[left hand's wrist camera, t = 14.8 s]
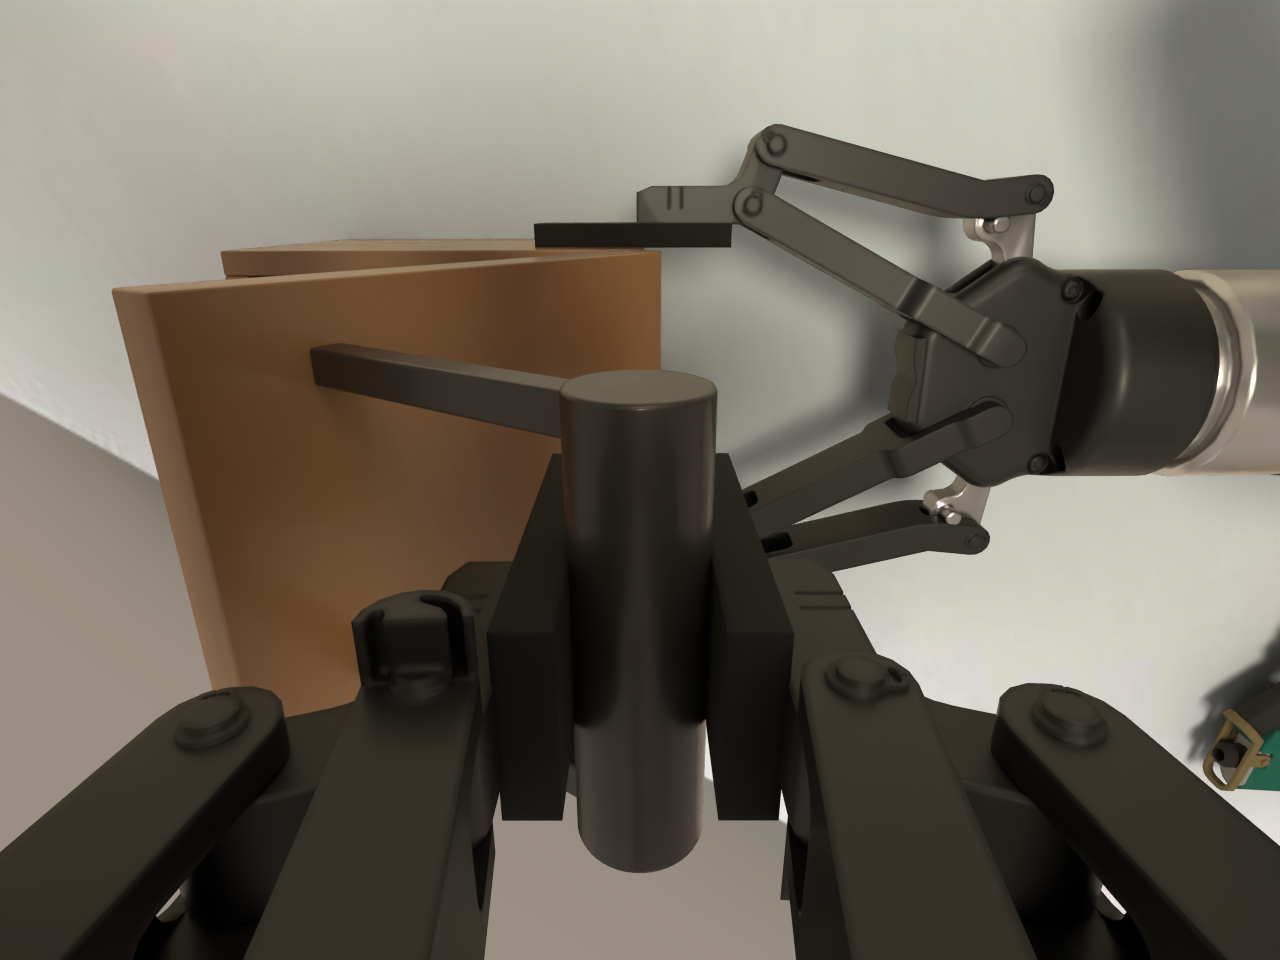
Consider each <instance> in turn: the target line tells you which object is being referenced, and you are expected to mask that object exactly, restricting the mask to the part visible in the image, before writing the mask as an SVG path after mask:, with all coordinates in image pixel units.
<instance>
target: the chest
mask: <svg viewBox="0 0 1280 960" xmlns="http://www.w3.org/2000/svg"><path fill="white" fill-rule="evenodd" d="M624 250H637V251H644V248H643V247H535V239H391V240H335V241H324V242H314V243H303V244H292V245H282V246H271V247H260V248H250V249H239V250H228V251H222V252H221V257H222V262H223V267H224V273H225V275H226V280H230V279H243V278H257V277H271V276H284V275H298V274H311V273H325V272H338V271H352V270H366V269H379V268H393V267H406V266H420V265H434V264H447V263H461V262H474V261H488V260H501V259H515V258H529V257H542V256H556V255H569V254H583V253H597V252H610V251H624Z"/></svg>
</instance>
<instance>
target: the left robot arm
mask: <svg viewBox="0 0 1280 960" xmlns="http://www.w3.org/2000/svg"><path fill="white" fill-rule="evenodd" d="M351 625H352V631H353V638H354V644H355V650H356V656H357V663H358V669H359V675H360V682H361V687H360V689H359V691H358V694H357V696H356V698H355V701H352V702H350V703H348V704H344V705H340V706H337V707H333V708H329V709H324V710H320V711H315V712H310V713H305V714H300V715H295V716H290V717H285V715H284V710H283V705H282V700H280V699H279V698H278V697H277V696H276V695H275V694H274V693H273V692H272V691H270V690H266V689H262V688H258V687H255V686H248V687H229V688H222V689H219V690H213V691H209V692H206V693H203V694H201V695H199V696H197V697H194V698H192V699H190V700H188V701H185V702H183V703H180V704H178V705H177V706H175V707H174V708H172V709H171V710H169V711H168V712H166V713H165V714H163V715H162V716H160V717H159V718H157V719H156V720H155V721H154V722H153V723H151V724H150V725H149V726H148V727H147V728H145V729H144V730H143V731H142V732H141V733H140V734H138V735H137V736H136V737H135V738H134V739H133V740H131V741H130V742H129V743H128V744H127V745H126V746H124V747H123V748H122V749H121V750H120V751H118V752H117V753H116V754H115V755H114V756H113V757H111V758H110V759H109V760H108V761H107V762H106V763H104V764H103V765H102V766H101V767H100V768H98V769H97V770H96V771H95V772H94V773H93V774H91V775H90V776H89V777H88V778H87V779H86V780H84V781H83V782H82V783H81V784H80V785H79V786H77V787H76V788H75V789H74V790H73V791H71V792H70V793H69V794H68V795H67V796H66V797H64V798H63V799H62V800H61V801H60V802H59V803H57V804H56V805H55V806H54V807H53V808H52V809H50V810H49V811H48V812H47V813H46V814H44V815H43V816H42V817H41V818H40V819H39V820H37V821H36V822H35V823H34V824H33V825H32V826H30V827H29V828H28V829H27V830H26V831H24V832H23V833H22V834H21V835H20V836H19V837H17V838H16V839H15V840H14V841H13V842H12V843H10V844H9V845H8V846H7V847H6V848H4V849H3V850H2V851H1V852H0V960H484V955H485V945H486V936H487V926H488V917H489V907H490V898H491V889H492V879H493V870H494V860H495V844H494V833H493V822H492V821H493V817H494V813H495V808H496V804H497V800H498V796H499V792H500V800H501V812H502V820H503V821H527V820H528V821H531V820H532V821H535V820H536V821H542V820H543V821H546V820H547V821H562V819H563V811H564V803H565V796H566V788H567V780H568V772H569V764H570V757H571V749H572V741H573V733H574V726H575V713H574V688H573V663H572V638H571V613H570V588H569V563H568V559H567V556H566V543H565V520H564V497H563V475H562V453H553V454H552V456H551V459H550V462H549V465H548V467H547V470H546V473H545V475H544V478H543V481H542V484H541V486H540V489H539V492H538V494H537V497H536V500H535V503H534V505H533V508H532V511H531V513H530V516H529V519H528V522H527V524H526V527H525V530H524V532H523V535H522V538H521V541H520V543H519V546H518V549H517V551H516V554H515V557H514V560H513V561H468V562H467V563H465V564H464V565H463V566H461V567H460V568H458V569H457V570H456V571H454V572H453V573H452V574H450V575H449V576H447V578H446V580H445V582H444V584H443V586H442V588H441V589H440V590H417V591H410V592H403V593H399V594H396V595H392V596H389V597H386V598H383V599H380V600H378V601H376V602H375V603H373V604H371V605H369V606H368V607H366V608H364V609H362V610H361V611H360V612H359V613H358V615H357V616H356V617H355V618H354V619H353V620H352V621H351ZM705 719H706V727H707V735H708V743H709V751H710V758H711V766H712V774H713V782H714V789H715V797H716V805H717V813H718V820H779V809H780V797H781V789H782V793H783V797H784V802H785V806H786V810H787V814H788V822H787V833H786V844H785V855H784V866H783V876H782V887H781V898H780V899H781V900H790V906H791V916H792V925H793V934H794V944H795V953H796V960H1280V846H1279V845H1278V844H1277V843H1276V842H1274V841H1273V840H1272V839H1271V838H1270V837H1268V836H1267V835H1266V834H1265V833H1264V832H1263V831H1261V830H1260V829H1259V828H1258V827H1257V826H1255V825H1254V824H1253V823H1252V822H1251V821H1250V820H1248V819H1247V818H1246V817H1245V816H1244V815H1242V814H1241V813H1240V812H1239V811H1238V810H1236V809H1235V808H1234V807H1233V806H1232V805H1231V804H1229V803H1228V802H1227V801H1226V800H1225V799H1223V798H1222V797H1221V796H1220V795H1219V794H1218V793H1216V792H1215V791H1214V790H1213V789H1212V788H1210V787H1209V786H1208V785H1207V784H1206V783H1204V782H1203V781H1202V780H1201V779H1200V778H1199V777H1197V776H1196V775H1195V774H1194V773H1193V772H1191V771H1190V770H1189V769H1188V768H1187V767H1185V766H1184V765H1183V764H1182V763H1181V762H1180V761H1178V760H1177V759H1176V758H1175V757H1174V756H1172V755H1171V754H1170V753H1169V752H1168V751H1167V750H1165V749H1164V748H1163V747H1162V746H1161V745H1159V744H1158V743H1157V742H1156V741H1155V740H1153V739H1152V738H1151V737H1150V736H1149V735H1148V734H1146V733H1145V732H1144V731H1143V730H1142V729H1140V728H1139V727H1138V726H1137V725H1136V724H1135V723H1133V722H1132V721H1131V720H1130V719H1129V718H1127V717H1126V716H1125V715H1124V714H1122V713H1121V712H1119V711H1118V710H1116V709H1115V708H1113V707H1111V706H1110V705H1108V704H1107V703H1105V702H1104V701H1102V700H1100V699H1097V698H1095V697H1093V696H1090V695H1088V694H1086V693H1083V692H1082V691H1080V690H1077V689H1073V688H1070V687H1063V686H1061V685H1055V684H1040V683H1026V684H1022V685H1018V686H1014V687H1011V688H1009V689H1008V690H1007V691H1006V692H1005V693H1004V694H1003V695H1002V696H1001V697H1000V699H999V704H998V709H997V714H992V713H987V712H982V711H977V710H972V709H967V708H962V707H957V706H952V705H949V704H945V703H941V702H938V701H934V700H931V699H929V698H927V697H924V695H923V692H922V690H921V688H920V686H919V684H918V682H917V681H916V680H915V678H914V677H913V676H912V674H911V673H910V672H909V671H908V670H907V669H905V668H904V667H902V666H901V665H899V664H898V663H896V662H895V661H893V660H892V659H889V658H886V657H884V656H881V655H878V654H876V652H875V650H874V648H873V646H872V644H871V642H870V641H869V639H868V637H867V635H866V633H865V631H864V629H863V628H862V626H861V624H860V622H859V620H858V618H857V616H856V615H855V613H854V611H853V610H851V605H850V603H849V602H848V600H847V598H846V596H845V595H843V590H842V589H841V587H840V585H839V583H838V581H837V579H836V577H835V576H834V574H833V573H831V572H830V571H829V570H827V569H826V568H825V567H823V566H822V565H820V564H819V563H818V562H816V561H815V560H813V559H767V557H766V554H765V552H764V549H763V546H762V544H761V541H760V538H759V535H758V533H757V530H756V527H755V525H754V522H753V519H752V516H751V514H750V511H749V508H748V506H747V503H746V500H745V497H744V495H743V492H742V489H741V487H740V484H739V481H738V478H737V476H736V473H735V470H734V468H733V465H732V462H731V459H730V457H729V454H728V453H715V480H714V509H713V538H712V556H711V583H710V610H709V637H708V664H707V691H706V718H705ZM1102 885H1104V886H1105V887H1106V888H1107V889H1108V891H1109V892H1110V893H1111V894H1112V895H1113V897H1114V898H1115V899H1116V900H1117V901H1118V902H1119V904H1120V905H1121V906H1122V907H1123V908H1124V909H1125V911H1126V914H1123V913H1121V912H1120V911H1119V910H1118V909H1117V908H1116V907H1115V906H1114V905H1113V904H1112V903H1111V902H1110V901H1109V899H1108V898H1107V897H1106V896H1105V895H1104V893H1103V892H1102V891H1101V888H1102ZM178 889H180V892H181V893H180V895H179V896H178V897H177V898H176V899H175V901H174V902H173V903H172V904H171V905H170V907H169V908H167V909H166V910H165V911H164V912H163V913H162V914H160V915H159V916H158V917H156V915H157V913H158V912H159V911H160V910H161V909H162V907H163V906H164V905H165V904H166V903H167V902H168V900H169V899H170V898H171V897H172V896H173V894H174V893H175V892H176V891H177V890H178Z"/></svg>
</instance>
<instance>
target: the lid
mask: <svg viewBox="0 0 1280 960" xmlns="http://www.w3.org/2000/svg"><path fill="white" fill-rule="evenodd" d="M112 295H113V299H114V303H115V307H116V310H117V314H118V318H119V322H120V326H121V330H122V334H123V338H124V342H125V346H126V350H127V354H128V358H129V362H130V366H131V370H132V374H133V378H134V381H135V385H136V389H137V393H138V397H139V401H140V405H141V409H142V413H143V417H144V421H145V425H146V429H147V433H148V437H149V441H150V445H151V449H152V452H153V456H154V460H155V464H156V468H157V472H158V476H159V480H160V484H161V488H162V492H163V496H164V500H165V504H166V508H167V512H168V516H169V519H170V523H171V527H172V531H173V535H174V539H175V543H176V547H177V551H178V555H179V559H180V563H181V567H182V571H183V575H184V579H185V583H186V587H187V591H188V595H189V598H190V602H191V606H192V610H193V614H194V618H195V622H196V626H197V630H198V634H199V638H200V642H201V646H202V649H203V654H204V657H205V661H206V666H207V669H208V673H209V677H210V681H211V685H212V689H213V690H219V689H222V688H229V687H248V686H255V687H258V688H262V689H266V690H270V691H272V692H273V693H274V694H275V695H276V696H277V697H278V698H279V699H280V700H282V705H283V710H284V715H285V717H290V716H295V715H300V714H305V713H310V712H315V711H320V710H324V709H329V708H333V707H337V706H340V705H344V704H348V703H350V702H352V701H355V698H356V696H357V694H358V691H359V689H360V687H361V682H360V675H359V669H358V663H357V656H356V650H355V644H354V638H353V631H352V625H351V621H352V620H353V619H354V618H355V617H356V616H357V615H358V613H359V612H360V611H361V610H362V609H364V608H366V607H368V606H369V605H371V604H373V603H375V602H376V601H378V600H380V599H383V598H386V597H389V596H392V595H396V594H399V593H403V592H410V591H417V590H440V589H441V588H442V586H443V584H444V582H445V580H446V578H447V576H449V575H450V574H452V573H453V572H454V571H456V570H457V569H458V568H460V567H461V566H463V565H464V564H465V563H467V562H468V561H513V560H514V557H515V554H516V551H517V549H518V546H519V543H520V541H521V538H522V535H523V532H524V530H525V527H526V524H527V522H528V519H529V516H530V513H531V511H532V508H533V505H534V503H535V500H536V497H537V494H538V492H539V489H540V486H541V484H542V481H543V478H544V475H545V473H546V470H547V467H548V465H549V462H550V459H551V456H552V454H553V453H562V475H563V497H564V520H565V543H566V556H567V559H568V563H569V588H570V613H571V638H572V663H573V688H574V713H575V726H574V733H573V741H572V749H571V757H570V764H569V772H568V780H567V788H566V792H568V793H570V794H572V795H573V796H575V797H577V815H578V829H579V834H580V837H581V839H582V841H583V843H584V845H585V846H586V848H587V849H588V850H589V851H590V853H591V854H592V855H593V856H594V857H595V858H596V859H598V860H599V861H601V862H602V863H604V864H606V865H608V866H609V867H612V868H615V869H617V870H621V871H625V872H632V873H648V872H655V871H659V870H663V869H666V868H668V867H670V866H672V865H675V864H676V863H678V862H679V861H681V860H682V859H683V858H685V857H686V856H687V855H688V854H689V853H690V852H691V850H692V849H693V848H694V846H695V845H696V843H697V842H698V839H699V837H700V834H701V831H702V823H703V796H704V767H705V739H706V719H705V718H706V691H707V664H708V637H709V610H710V583H711V556H712V538H713V509H714V480H715V451H716V423H717V394H718V392H717V389H716V386H715V385H714V384H713V383H712V382H711V381H709V380H707V379H704V378H701V377H698V376H695V375H691V374H686V373H680V372H673V371H662V370H660V349H661V252H660V251H637V250H624V251H610V252H597V253H583V254H569V255H556V256H542V257H529V258H515V259H501V260H488V261H474V262H461V263H447V264H434V265H420V266H406V267H393V268H379V269H366V270H352V271H338V272H325V273H311V274H298V275H284V276H271V277H257V278H243V279H230V280H216V281H203V282H189V283H175V284H162V285H148V286H135V287H121V288H114V289H112Z"/></svg>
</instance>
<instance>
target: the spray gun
mask: <svg viewBox="0 0 1280 960" xmlns="http://www.w3.org/2000/svg"><path fill="white" fill-rule="evenodd" d="M1223 714H1224V716H1225V717H1226V718H1227V720H1226V722H1225V724H1224V726H1223V727H1222V729H1221V731H1220V733H1219V735H1218V736H1217V738H1216V740H1215V742H1214V744H1213V745H1212V747H1211V749H1210V751H1209V753H1208V754H1207V756H1206V758H1205V760H1204V762H1203V771H1204V774H1205V775H1206V777H1207V778H1208V779H1209V780H1210V781H1211V782H1212V783H1213V784H1214V785H1215V786H1216V787H1217V788H1218V789H1220V790H1224V791H1234V790H1235V789H1251V790H1269V791H1280V683H1278V684H1276V685H1274V686H1273V687H1271V688H1269V689H1267V690H1266V691H1264V692H1262V693H1260V694H1259V695H1257V696H1255V697H1253V698H1252V699H1250V700H1248V701H1246V702H1245V703H1243V704H1241V705H1239V706H1238V707H1236V708H1235V709H1234V710H1232V709H1230V708H1229V709H1228V710H1226V711H1225V712H1223ZM1235 725H1236V726H1235ZM1234 726H1235V727H1234ZM1233 727H1234V728H1235V729H1236V730H1237V731H1238V732H1231V731H1232V729H1233ZM1215 761H1216V762H1217V763H1218V764H1220V769H1221V773H1222V776H1223V778H1224V779H1225V781H1226V782H1227V783H1228V784H1227V785H1225V784H1224V783H1223V782H1222V781H1221V780H1220V779H1219V778H1218V777H1217V776H1216V775H1215V773H1214V772H1213V763H1214V762H1215Z"/></svg>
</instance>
